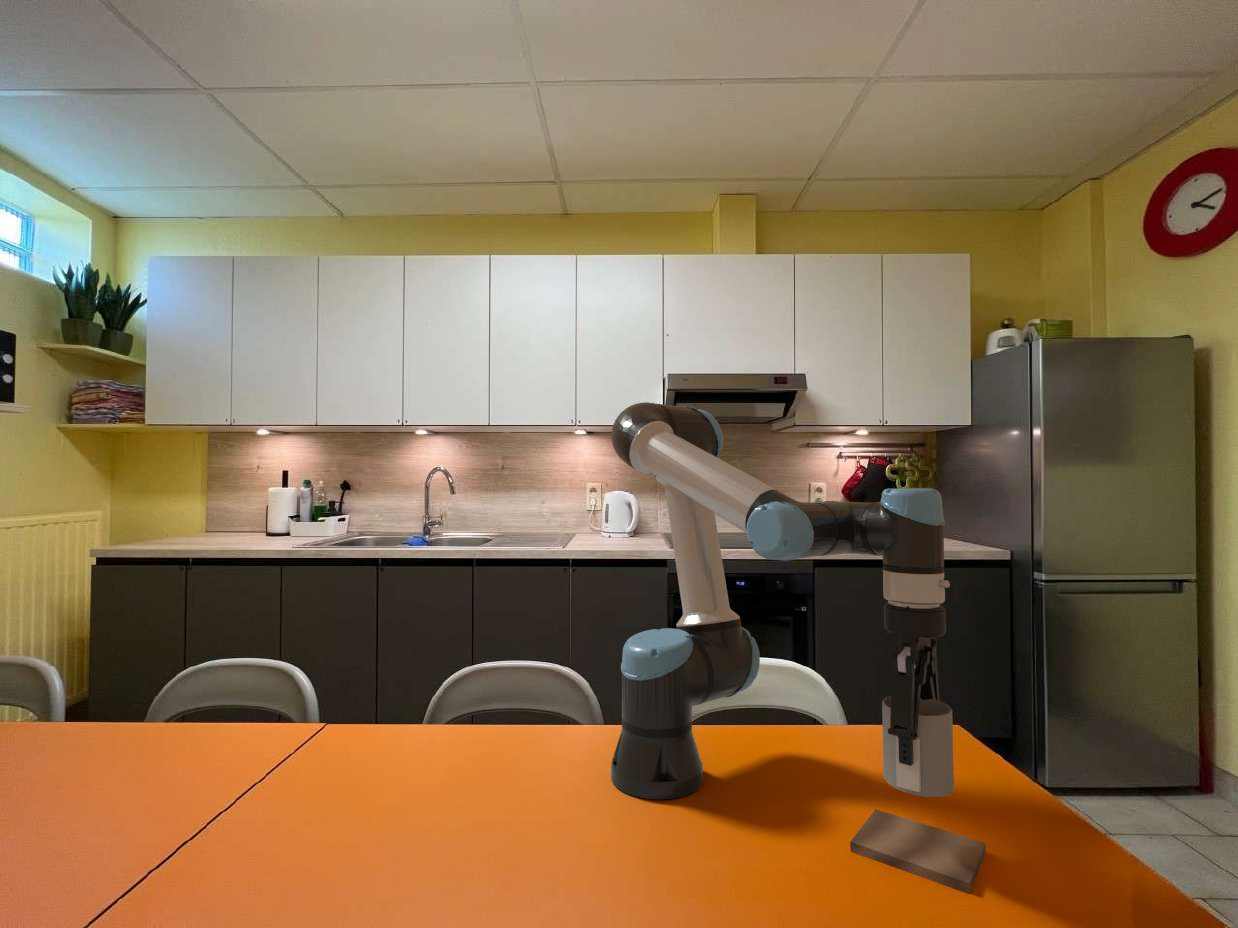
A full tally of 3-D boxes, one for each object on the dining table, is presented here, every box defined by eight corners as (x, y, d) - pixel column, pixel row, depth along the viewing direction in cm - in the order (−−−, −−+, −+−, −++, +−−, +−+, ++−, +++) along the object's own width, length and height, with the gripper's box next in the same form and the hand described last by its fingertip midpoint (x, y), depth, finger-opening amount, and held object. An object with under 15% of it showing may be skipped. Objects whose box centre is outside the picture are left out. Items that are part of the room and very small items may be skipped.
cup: (962, 799, 78) (960, 718, 79) (892, 793, 80) (890, 713, 80) (941, 770, 87) (940, 696, 87) (878, 765, 88) (877, 693, 89)
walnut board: (850, 850, 83) (850, 841, 83) (875, 817, 92) (875, 808, 92) (969, 893, 74) (969, 883, 74) (985, 852, 83) (985, 842, 83)
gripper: (924, 618, 74) (929, 816, 73) (961, 595, 90) (965, 756, 89) (859, 611, 79) (863, 796, 77) (905, 590, 95) (908, 743, 94)
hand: (917, 775), depth 83 cm, fingers closed on cup, 8 cm apart
